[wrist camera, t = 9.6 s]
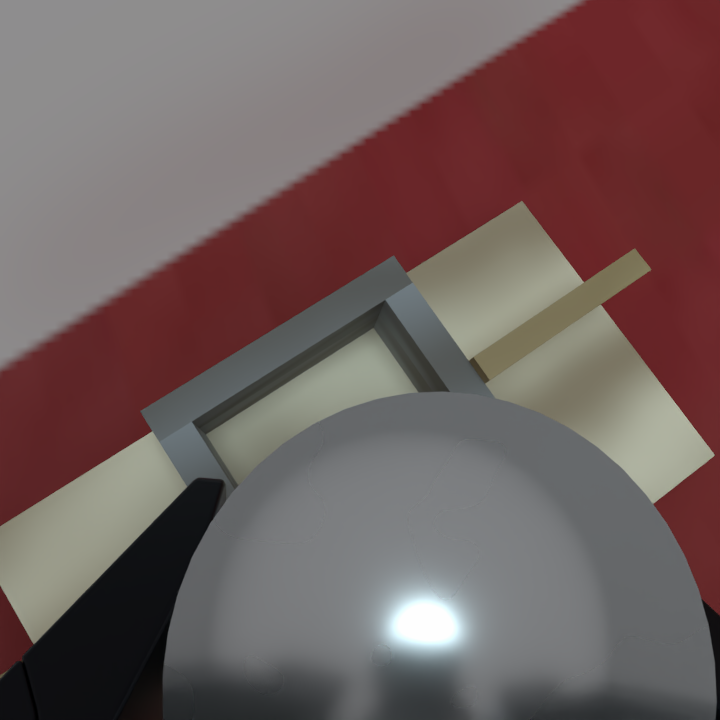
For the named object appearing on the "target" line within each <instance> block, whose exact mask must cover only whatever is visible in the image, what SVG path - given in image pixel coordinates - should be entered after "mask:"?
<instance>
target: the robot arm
mask: <svg viewBox="0 0 720 720" xmlns="http://www.w3.org/2000/svg"><path fill="white" fill-rule="evenodd" d="M225 502H226V483H225V481H224V480H222V479H213V478H202V477H200V478H196V479H195V480H193V481H192V482H191V483H190V484H189V485H188V486H187V488H186V489H185V490H184V491H183V492H182V493H181V494H180V495H179V496H178V497H177V498H176V499H175V500H174V501H173V502H172V503H171V504H170V505H169V506H168V507H167V508H166V509H165V510H164V511H163V512H162V513H161V514H160V515H159V516H158V517H157V518H156V519H155V520H154V521H153V522H152V523H151V525H150V526H149V527H148V528H147V529H146V530H145V531H144V532H143V533H142V534H141V535H140V536H139V537H138V538H137V539H136V540H135V541H134V542H133V543H132V544H131V545H130V546H129V547H128V548H127V549H126V550H125V551H124V552H123V553H122V554H121V555H120V556H119V557H118V558H117V559H116V560H115V561H114V563H113V564H112V565H111V566H110V567H109V568H108V569H107V570H106V571H105V572H104V573H103V574H102V575H101V576H100V577H99V578H98V579H97V580H96V581H95V582H94V583H93V584H92V585H91V586H90V587H89V588H88V589H87V590H86V591H85V592H84V593H83V594H82V595H81V596H80V597H79V598H78V599H77V600H76V602H75V603H74V604H73V605H72V606H71V607H70V608H69V609H68V610H67V611H66V612H65V613H64V614H63V615H62V616H61V617H60V618H59V619H58V620H57V621H56V622H55V623H54V624H53V625H52V626H51V627H50V628H49V629H48V630H47V631H46V632H45V633H44V634H43V635H42V636H41V637H40V638H39V640H38V641H37V642H36V643H35V644H34V645H33V646H32V647H31V648H30V649H29V650H28V651H27V652H26V653H25V654H24V655H23V656H22V661H23V662H22V661H17V662H16V663H15V664H14V665H13V666H12V667H11V668H10V669H9V670H8V671H7V672H6V673H5V674H4V675H3V676H2V677H1V678H0V720H163V668H164V660H165V652H166V644H167V636H168V631H169V627H170V623H171V619H172V615H173V611H174V607H175V603H176V599H177V595H178V592H179V589H180V587H181V584H182V582H183V579H184V577H185V574H186V571H187V569H188V566H189V564H190V561H191V559H192V556H193V554H194V553H195V551H196V549H197V547H198V545H199V543H200V541H201V540H202V538H203V536H204V534H205V532H206V530H207V528H208V527H209V525H210V523H211V521H212V520H213V519H214V517H215V516H216V514H217V513H218V512H219V510H220V509H221V507H222V506H223V505H224V503H225ZM701 600H702V599H701ZM702 604H703V607H704V611H705V614H706V618H707V621H708V625H709V630H710V637H711V643H712V649H713V655H714V661H715V676H716V696H717V705H716V720H720V615H718V614H717V613H716V612H715V611H714V610H713V609H712V608H711V607H710V606H709V605H708V604H706V603H705V602H704V601H703V600H702Z"/></svg>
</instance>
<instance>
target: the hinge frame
mask: <svg viewBox="0 0 720 720" xmlns="http://www.w3.org/2000/svg"><path fill="white" fill-rule="evenodd" d="M650 270H651V269H650V267H649V266H648V265H647V264H646V262H645V261H644V260H643V258H642V257H641V256H640V255H639V253H638V252H637V251H636V249H633V250H632V251H630V252H629V253H627V254H626V255H624V256H623V257H621V258H620V259H618V260H617V261H615V262H614V263H612V264H611V265H609V266H608V267H606V268H605V269H603V270H602V271H601V272H599V273H598V274H596V275H595V276H593V277H592V278H590V279H589V280H587V281H586V282H583V281H582V279H581V278H580V277H579V275H578V274H577V273H576V272H575V270H574V269H573V268H572V266H571V265H570V264H569V262H568V261H567V260H566V258H565V257H564V256H563V254H562V253H561V252H560V250H559V249H558V248H557V246H556V245H555V244H554V243H553V241H552V240H551V239H550V237H549V236H548V235H547V233H546V232H545V231H544V229H543V228H542V227H541V225H540V224H539V223H538V221H537V220H536V219H535V217H534V216H533V215H532V213H531V212H530V211H529V210H528V208H527V207H526V206H525V204H524V203H523V202H522V201H521V202H520V203H518V204H516V205H515V206H513V207H512V208H510V209H508V210H507V211H505V212H504V213H502V214H500V215H499V216H497V217H496V218H494V219H492V220H491V221H489V222H488V223H486V224H484V225H483V226H481V227H480V228H478V229H476V230H475V231H473V232H472V233H470V234H468V235H467V236H465V237H464V238H462V239H460V240H459V241H457V242H456V243H454V244H452V245H451V246H449V247H448V248H446V249H444V250H443V251H441V252H440V253H438V254H436V255H435V256H433V257H431V258H430V259H428V260H427V261H425V262H423V263H422V264H420V265H419V266H417V267H415V268H414V269H412V270H411V271H409V272H407V273H406V272H405V271H404V270H403V268H402V267H401V265H400V264H399V263H398V261H397V260H396V258H395V257H394V256H392V257H391V258H389V259H387V260H386V261H384V262H383V263H381V264H379V265H378V266H376V267H374V268H373V269H371V270H370V271H368V272H366V273H365V274H363V275H361V276H360V277H358V278H357V279H355V280H353V281H352V282H350V283H348V284H347V285H345V286H344V287H342V288H340V289H339V290H337V291H335V292H334V293H332V294H330V295H329V296H327V297H326V298H324V299H322V300H321V301H319V302H317V303H316V304H314V305H313V306H311V307H309V308H308V309H306V310H304V311H303V312H301V313H300V314H298V315H296V316H295V317H293V318H291V319H290V320H288V321H286V322H285V323H283V324H282V325H280V326H278V327H277V328H275V329H273V330H272V331H270V332H269V333H267V334H265V335H264V336H262V337H260V338H259V339H257V340H256V341H254V342H252V343H251V344H249V345H247V346H246V347H244V348H243V349H241V350H239V351H238V352H236V353H234V354H233V355H231V356H229V357H228V358H226V359H225V360H223V361H221V362H220V363H218V364H216V365H215V366H213V367H212V368H210V369H208V370H207V371H205V372H203V373H202V374H200V375H199V376H197V377H195V378H194V379H192V380H190V381H189V382H187V383H186V384H184V385H182V386H181V387H179V388H177V389H176V390H174V391H172V392H171V393H169V394H168V395H166V396H164V397H163V398H161V399H159V400H158V401H156V402H155V403H153V404H151V405H150V406H148V407H146V408H145V409H143V410H142V411H140V412H141V413H142V415H143V417H144V418H145V420H146V421H147V423H148V425H149V426H150V428H151V429H152V432H151V433H149V434H148V435H146V436H144V437H143V438H141V439H140V440H138V441H136V442H135V443H133V444H132V445H130V446H128V447H127V448H125V449H124V450H122V451H120V452H119V453H117V454H116V455H114V456H112V457H111V458H109V459H108V460H106V461H104V462H103V463H101V464H100V465H98V466H96V467H95V468H93V469H92V470H90V471H88V472H87V473H85V474H84V475H82V476H80V477H79V478H77V479H75V480H74V481H72V482H71V483H69V484H67V485H66V486H64V487H63V488H61V489H59V490H58V491H56V492H55V493H53V494H51V495H50V496H48V497H47V498H45V499H43V500H42V501H40V502H39V503H37V504H35V505H34V506H32V507H31V508H29V509H27V510H26V511H24V512H23V513H21V514H19V515H18V516H16V517H15V518H13V519H11V520H10V521H8V522H7V523H5V524H3V525H2V526H0V586H1V587H2V589H3V591H4V593H5V594H6V596H7V598H8V600H9V602H10V603H11V605H12V607H13V609H14V610H15V612H16V614H17V616H18V618H19V619H20V621H21V623H22V625H23V626H24V628H25V630H26V632H27V633H28V635H29V637H30V639H31V641H32V642H33V644H35V643H36V642H37V641H38V640H39V638H40V637H41V636H42V635H43V634H44V633H45V632H46V631H47V630H48V629H49V628H50V627H51V626H52V625H53V624H54V623H55V622H56V621H57V620H58V619H59V618H60V617H61V616H62V615H63V614H64V613H65V612H66V611H67V610H68V609H69V608H70V607H71V606H72V605H73V604H74V603H75V602H76V600H77V599H78V598H79V597H80V596H81V595H82V594H83V593H84V592H85V591H86V590H87V589H88V588H89V587H90V586H91V585H92V584H93V583H94V582H95V581H96V580H97V579H98V578H99V577H100V576H101V575H102V574H103V573H104V572H105V571H106V570H107V569H108V568H109V567H110V566H111V565H112V564H113V563H114V561H115V560H116V559H117V558H118V557H119V556H120V555H121V554H122V553H123V552H124V551H125V550H126V549H127V548H128V547H129V546H130V545H131V544H132V543H133V542H134V541H135V540H136V539H137V538H138V537H139V536H140V535H141V534H142V533H143V532H144V531H145V530H146V529H147V528H148V527H149V526H150V525H151V523H152V522H153V521H154V520H155V519H156V518H157V517H158V516H159V515H160V514H161V513H162V512H163V511H164V510H165V509H166V508H167V507H168V506H169V505H170V504H171V503H172V502H173V501H174V500H175V499H176V498H177V497H178V496H179V495H180V494H181V493H182V492H183V491H184V490H185V489H186V488H187V486H188V485H189V484H190V483H191V482H192V481H193V480H195V479H196V478H200V477H202V478H213V479H222V480H224V481H225V483H226V500H227V499H228V498H229V496H230V495H231V493H232V492H233V491H234V490H235V489H236V488H237V487H238V486H239V485H240V483H241V482H242V481H243V480H244V479H245V478H246V477H247V476H248V475H249V474H250V473H251V472H252V470H253V469H254V468H255V467H256V466H257V465H258V464H259V463H261V462H262V461H263V460H264V459H265V458H267V457H268V456H269V455H270V454H271V453H273V452H274V451H275V450H276V449H277V448H278V447H280V446H281V445H282V444H283V443H284V442H286V441H288V440H289V439H291V438H292V437H294V436H295V435H297V434H299V433H300V432H302V431H303V430H305V429H306V428H308V427H309V426H311V425H313V424H314V423H316V422H318V421H321V420H323V419H325V418H327V417H329V416H331V415H333V414H335V413H338V412H340V411H342V410H344V409H347V408H350V407H353V406H356V405H359V404H362V403H366V402H369V401H372V400H375V399H379V398H385V397H390V396H396V395H401V394H407V393H420V392H455V393H466V394H477V395H481V396H486V397H490V398H495V399H499V400H504V401H508V402H511V403H514V404H517V405H519V406H522V407H525V408H528V409H531V410H533V411H536V412H539V413H541V414H543V415H545V416H547V417H549V418H551V419H553V420H555V421H557V422H559V423H561V424H563V425H565V426H567V427H569V428H570V429H572V430H573V431H575V432H576V433H578V434H579V435H581V436H582V437H583V438H585V439H586V440H588V441H589V442H591V443H592V444H594V445H595V446H597V447H598V448H599V449H600V450H601V451H603V452H604V453H605V454H606V455H607V456H608V457H610V458H611V459H612V460H613V461H614V462H615V463H616V464H618V465H619V466H620V467H621V468H622V469H623V470H624V471H625V472H626V473H627V474H628V475H629V476H630V477H631V479H632V480H633V481H634V482H635V483H636V484H637V485H638V486H639V487H640V488H641V490H642V491H643V492H644V493H645V494H646V495H647V497H648V498H649V499H650V501H651V502H652V504H653V503H655V502H656V501H657V500H659V499H660V498H661V497H662V496H664V495H665V494H666V493H668V492H669V491H670V490H671V489H673V488H674V487H675V486H676V485H678V484H679V483H680V482H682V481H683V480H684V479H685V478H687V477H688V476H689V475H690V474H692V473H693V472H694V471H696V470H697V469H698V468H699V467H701V466H702V465H703V464H704V463H706V462H707V461H708V460H710V459H711V458H712V457H713V456H715V455H714V454H713V452H712V451H711V450H710V448H709V447H708V446H707V444H706V443H705V442H704V440H703V439H702V438H701V436H700V435H699V434H698V432H697V431H696V430H695V429H694V427H693V426H692V425H691V423H690V422H689V421H688V419H687V418H686V417H685V415H684V414H683V413H682V411H681V410H680V409H679V407H678V406H677V405H676V403H675V402H674V401H673V399H672V398H671V397H670V396H669V394H668V393H667V392H666V390H665V389H664V388H663V386H662V385H661V384H660V382H659V381H658V380H657V378H656V377H655V376H654V374H653V373H652V372H651V370H650V369H649V368H648V367H647V365H646V364H645V363H644V361H643V360H642V359H641V357H640V356H639V355H638V353H637V352H636V351H635V349H634V348H633V347H632V345H631V344H630V343H629V341H628V340H627V339H626V337H625V336H624V335H623V334H622V332H621V331H620V330H619V328H618V327H617V326H616V324H615V323H614V322H613V320H612V319H611V318H610V316H609V315H608V314H607V312H606V311H605V310H604V308H603V307H602V306H601V304H602V303H603V302H605V301H606V300H608V299H609V298H611V297H612V296H614V295H615V294H617V293H618V292H619V291H621V290H622V289H624V288H625V287H627V286H628V285H630V284H631V283H632V282H634V281H635V280H637V279H638V278H640V277H641V276H643V275H644V274H645V273H647V272H648V271H650ZM22 662H23V661H22ZM7 671H8V670H7ZM7 671H6V672H7ZM6 672H5V673H6ZM5 673H3V674H2V675H0V678H1V677H2V676H3V675H4V674H5Z"/></svg>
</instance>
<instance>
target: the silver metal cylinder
mask: <svg viewBox="0 0 720 720" xmlns="http://www.w3.org/2000/svg"><path fill="white" fill-rule="evenodd" d="M716 705H717V696H716V676H715V661H714V655H713V649H712V643H711V637H710V630H709V625H708V621H707V618H706V614H705V611H704V607H703V604H702V600H701V597H700V593H699V590H698V587H697V585H696V582H695V580H694V577H693V575H692V573H691V570H690V568H689V565H688V563H687V560H686V558H685V556H684V554H683V552H682V550H681V548H680V546H679V545H678V543H677V541H676V539H675V537H674V536H673V534H672V532H671V530H670V528H669V527H668V525H667V523H666V522H665V520H664V519H663V518H662V516H661V515H660V513H659V512H658V511H657V509H656V508H655V506H654V505H653V504H652V502H651V501H650V499H649V498H648V497H647V495H646V494H645V493H644V492H643V491H642V490H641V488H640V487H639V486H638V485H637V484H636V483H635V482H634V481H633V480H632V479H631V477H630V476H629V475H628V474H627V473H626V472H625V471H624V470H623V469H622V468H621V467H620V466H619V465H618V464H616V463H615V462H614V461H613V460H612V459H611V458H610V457H608V456H607V455H606V454H605V453H604V452H603V451H601V450H600V449H599V448H598V447H597V446H595V445H594V444H592V443H591V442H589V441H588V440H586V439H585V438H583V437H582V436H581V435H579V434H578V433H576V432H575V431H573V430H572V429H570V428H569V427H567V426H565V425H563V424H561V423H559V422H557V421H555V420H553V419H551V418H549V417H547V416H545V415H543V414H541V413H539V412H536V411H533V410H531V409H528V408H525V407H522V406H519V405H517V404H514V403H511V402H508V401H504V400H499V399H495V398H490V397H486V396H481V395H477V394H466V393H455V392H420V393H407V394H401V395H396V396H390V397H385V398H379V399H375V400H372V401H369V402H366V403H362V404H359V405H356V406H353V407H350V408H347V409H344V410H342V411H340V412H338V413H335V414H333V415H331V416H329V417H327V418H325V419H323V420H321V421H318V422H316V423H314V424H313V425H311V426H309V427H308V428H306V429H305V430H303V431H302V432H300V433H299V434H297V435H295V436H294V437H292V438H291V439H289V440H288V441H286V442H284V443H283V444H282V445H281V446H280V447H278V448H277V449H276V450H275V451H274V452H273V453H271V454H270V455H269V456H268V457H267V458H265V459H264V460H263V461H262V462H261V463H259V464H258V465H257V466H256V467H255V468H254V469H253V470H252V472H251V473H250V474H249V475H248V476H247V477H246V478H245V479H244V480H243V481H242V482H241V483H240V485H239V486H238V487H237V488H236V489H235V490H234V491H233V492H232V493H231V495H230V496H229V498H228V499H227V500H226V502H225V503H224V505H223V506H222V507H221V509H220V510H219V512H218V513H217V514H216V516H215V517H214V519H213V520H212V521H211V523H210V525H209V527H208V528H207V530H206V532H205V534H204V536H203V538H202V540H201V541H200V543H199V545H198V547H197V549H196V551H195V553H194V554H193V556H192V559H191V561H190V564H189V566H188V569H187V571H186V574H185V577H184V579H183V582H182V584H181V587H180V589H179V592H178V595H177V599H176V603H175V607H174V611H173V615H172V619H171V623H170V627H169V631H168V636H167V644H166V652H165V660H164V668H163V720H716Z"/></svg>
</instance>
